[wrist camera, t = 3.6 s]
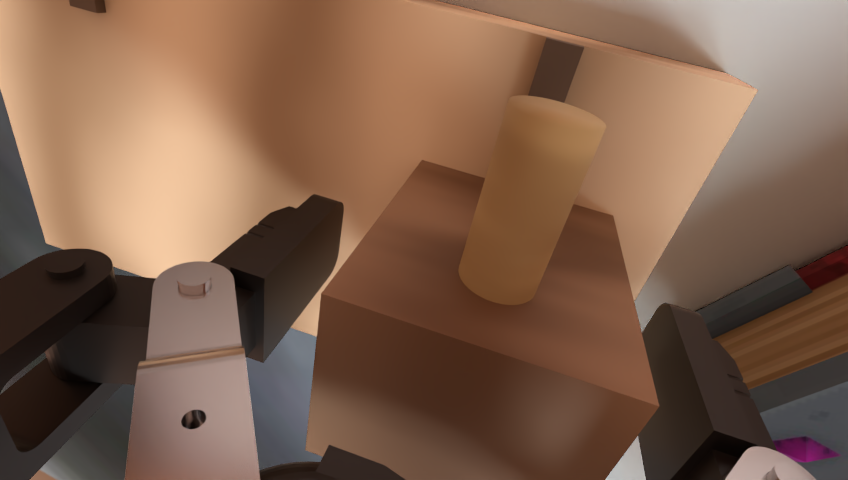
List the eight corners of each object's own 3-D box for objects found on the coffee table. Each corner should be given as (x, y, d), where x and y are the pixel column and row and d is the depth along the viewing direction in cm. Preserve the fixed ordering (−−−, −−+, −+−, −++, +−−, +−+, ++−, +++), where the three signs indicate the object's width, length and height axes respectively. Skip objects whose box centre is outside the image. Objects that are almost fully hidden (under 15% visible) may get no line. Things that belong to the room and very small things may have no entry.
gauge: (671, 94, 10) (798, 220, 5) (524, 396, 15) (508, 609, 10) (447, 37, 10) (341, 93, 5) (382, 348, 16) (297, 525, 10)
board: (726, 73, 11) (763, 93, 9) (563, 377, 17) (564, 429, 15) (19, -104, 13) (-75, -119, 11) (91, 219, 19) (38, 247, 17)
